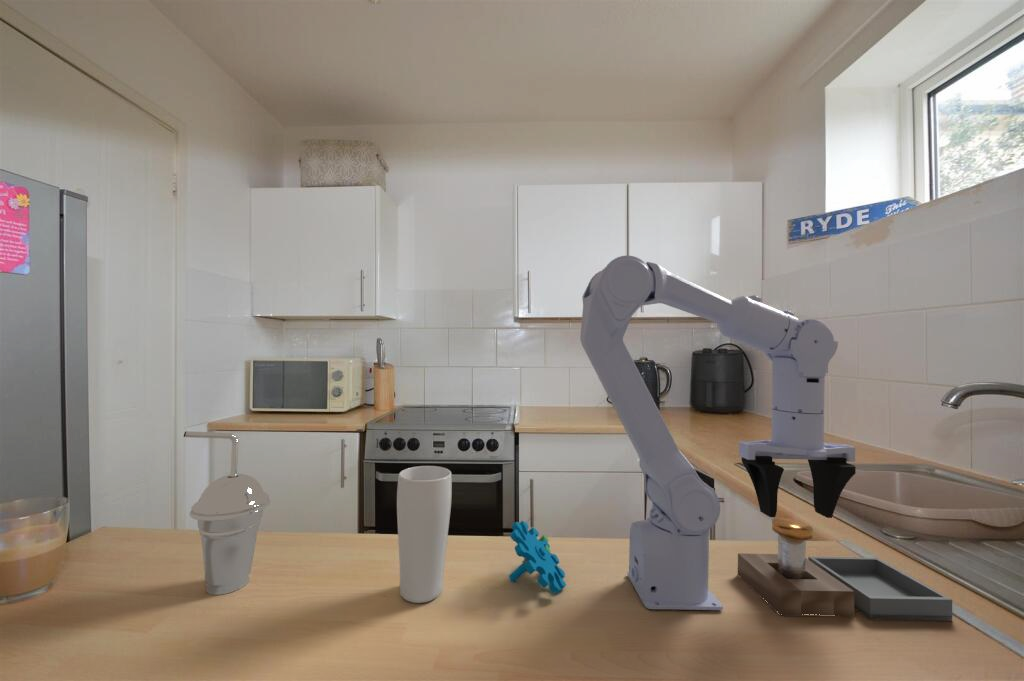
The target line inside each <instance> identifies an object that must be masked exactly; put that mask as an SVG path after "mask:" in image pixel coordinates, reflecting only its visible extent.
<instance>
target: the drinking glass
mask: <svg viewBox="0 0 1024 681" xmlns="http://www.w3.org/2000/svg"><path fill="white" fill-rule="evenodd" d="M452 478H453V477H452V471H451V470H450V469H448V468H446V467H443V466H438V465H437V466H436V465H420V466H419V465H418V466H412V467H408V468H405V469H403V470H401V471H400V472H399V473H398V478H397V488H396V489H397V490H396V517H397V518H396V519H397V520H396V521H397V540H398V557H399V561H398V563H399V593H400V596H401V597H402V599H404V600H405V601H407V602H410V603H412V604H423V603H427V602H431V601H434V600H435V599H436V598H437V597H439V596H440V594H441V593H442V592H443V588H444V572H445V562H446V554H447V544H448V537H449V528H450V518H451V512H452V511H451V508H452V498H453V497H452V495H453V494H452V490H453V487H452V486H453V481H452Z"/></svg>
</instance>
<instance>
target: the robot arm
mask: <svg viewBox="0 0 1024 681" xmlns="http://www.w3.org/2000/svg"><path fill="white" fill-rule="evenodd" d="M762 300H763V298H762V297H760V296H757V295H756V294H753V295H749V296H743V295H742V296H738V297H736V298H734V299H731V300H730V299H728V298H725V297H724V296H721V295H719V294H718V293H715V292H713V291H710V290H708V289H706V288H705V287H702V286H700V285H698V284H695V283H694V282H691V281H689V280H688V279H686V278H684V277H681V276H678V275H676V274H675V273H673V272H671V271H669V270H667V269H666V268H664V267H663V266H661V265H659V264H658V263H656V262H655V263H654V262H651V261H646V262H645V261H644V260H642V259H641V258H639V257H637V256H633V255H621V256H617V257H615V258H614V259H612V260H610V262H608V263H607V265H606V266H605V267H604V268H602V269H601V270H600V271H598V272H597V273H595V274H594V275H593V276H592V277H591V279H590V281H589V282H588V284H587V286H586V287H585V290H584V292H583V293H582V314H581V327H580V343H581V346H582V348H583V350H584V352H585V354H586V355H587V358H588V359H589V361H590V364H591V366H592V367H593V370H594V371H595V373H596V375H597V377H598V379H599V381H600V383H601V385H602V387H603V389H604V392H605V393H606V395H607V397H608V399H609V401H610V403H611V405H612V408H614V410H615V413H616V414H617V416H618V418H619V420H620V423H621V425H622V426H623V429H624V431H625V432H626V434H627V437H628V438H629V440H630V443H631V444H632V445H633V448H634V449H635V452H636V454H637V456H638V457H639V458H638V459H639V462H638V463H639V467H640V469H641V472H642V474H643V478H644V479H643V480H644V482H643V484H644V485H643V487H644V491H645V494H646V496H647V498H648V499H649V501H651V502H652V503H651V508H650V511H649V517H648V518H646V519H644V520H638V521H632V523H631V525H630V529H629V550H628V551H629V553H628V554H629V558H628V562H629V563H628V570H627V572H626V573H627V574H626V575H627V576H628V579H629V580H630V582H631V584H632V586H633V587H634V590H635V591H636V593H637V595H638V597H639V599H640V600H641V602H642V604H643V605H644V607H645V608H646V609H648V610H680V611H681V610H682V611H683V610H684V611H685V610H687V611H688V610H690V611H691V610H692V611H693V610H694V611H695V610H697V611H700V610H701V611H722V610H723V609H724V607H723V604H722V602H721V601H719V600H718V598H717V597H716V596H715V595H714V593H713V592H712V591H711V590H710V589H709V569H710V568H709V567H710V566H709V562H710V561H709V560H710V557H709V556H710V549H709V548H710V530H711V529H712V528H713V527H714V526H715V524H717V521H718V519H720V518H719V517H720V515H721V514H720V513H721V503H720V499H719V497H718V494H717V492H715V490H714V489H713V488H712V486H709V485H708V484H707V483H705V482H704V481H703V479H701V477H700V476H699V473H697V471H696V469H695V467H694V466H693V465H692V464H691V462H690V461H689V460H688V458H686V456H685V455H684V454H683V453H682V452H681V449H679V447H678V446H677V443H676V441H675V439H674V437H673V436H672V434H671V432H670V429H669V428H668V425H667V424H666V421H665V419H664V418H663V416H662V414H661V412H660V410H659V407H658V406H657V404H656V402H655V401H654V400H655V399H654V398H653V396H652V394H651V393H650V390H649V388H648V387H647V385H646V383H645V381H644V378H643V376H642V375H641V373H640V370H639V369H638V367H637V365H636V363H635V362H634V359H633V357H632V356H631V354H630V351H629V350H628V348H627V347H628V346H626V343H625V342H624V336H625V334H626V332H627V329H628V327H629V324H630V322H631V320H632V316H634V314H635V313H636V312H637V311H638V309H640V307H643V306H650V305H656V304H657V305H658V304H662V305H666V306H668V307H670V308H674V309H677V310H680V311H682V312H685V313H688V314H691V315H694V316H697V317H700V318H702V319H705V320H708V321H711V322H713V323H716V324H717V328H718V330H719V332H720V333H721V335H722V336H724V337H726V338H729V339H731V340H733V341H737V342H739V343H741V344H743V345H745V346H749V347H751V348H753V349H756V350H758V351H760V352H763V353H764V355H765V357H767V359H769V360H770V361H771V362H772V365H771V366H772V369H771V370H772V372H771V373H772V374H771V381H772V382H771V422H770V423H771V424H770V425H771V426H770V427H771V428H770V429H771V433H770V435H771V436H770V437H771V438H770V439H766V440H765V439H763V440H753V441H738V442H739V443H738V457H741V462H742V465H743V466H744V468H745V470H746V471H747V474H748V476H749V478H750V480H751V482H752V485H753V488H754V491H755V494H756V498H757V502H758V507H759V510H760V512H761V513H762V514H764V515H766V516H767V517H769V518H776V516H777V512H778V493H779V486H780V483H781V479H782V477H783V476H782V475H783V473H784V471H785V468H784V467H782V466H779V465H778V464H776V462H775V461H773V460H807V461H808V465H809V469H810V470H809V471H810V473H811V477H812V478H811V479H812V485H813V486H812V487H813V507H814V512H815V513H817V514H818V515H820V516H823V517H825V518H828V519H832V517H833V516H834V512H835V510H836V507H837V504H838V501H839V499H840V496H841V494H842V492H843V490H844V488H845V487H846V485H847V484H848V483H849V481H850V479H852V478H853V477H854V476H855V475H856V471H857V470H856V465H855V464H852V462H854V463H855V462H856V447H855V446H852V445H849V444H844V443H834V442H830V443H829V442H824V440H825V435H824V434H825V380H826V379H825V377H826V375H827V374H828V373H829V363H830V361H831V360H832V358H833V357H834V356H835V355H836V353H837V351H838V350H837V349H838V348H839V347H838V346H839V342H838V341H837V340H835V339H834V335H833V333H832V331H831V329H829V327H827V325H826V324H824V323H823V322H821V321H819V320H817V319H816V320H815V319H801V320H799V318H797V317H796V316H795V315H796V314H795V313H794V312H793V311H791V310H784V311H783V310H779V309H777V308H774V307H772V306H769V305H767V304H765V303H762ZM847 462H850V463H847Z"/></svg>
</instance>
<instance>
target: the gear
mask: <svg viewBox="0 0 1024 681" xmlns="http://www.w3.org/2000/svg"><path fill="white" fill-rule="evenodd" d="M510 528H511V529H512V530H513V531H512V532H511V533H510V534H509V536H510V539H511V540H512V541H513V542H515V543H516V545H515V546H514V552H515V553H516V555H517V557H522V558H523V559H522V561H521V564H520V565H519V566H517V568H515V570H514V571H512V573H510V574H509V575H508V578H509V580H510V581H511V582H512V583H515V582H516V581H517V580H518V579H520V578H521V577H522V575H524V574H525V573H526V572H527V573H528V574H529V575H532V574H533V573H535V572H537V573H538V574H539V577H538V578H537V580H536V581H537V584H539V585H540V586H541V587H542V588H543V589H545V588H546V587H548V589H549V591H550V592H551V593H552V594H555V595H557V594H558V593H559V592H560V591H562V590H563V589H564V588H566V587H567V584H566V582H565V581H564V578H565V577H566V575H565V574H566V573H565V571H564V570H563V569H562V568H561V567H560V566H558V564H560V560H559V557H558V556H557V555H556V554H555V553H551V549H550V548H551V546H550V544H549V538H548V537H547V536H546V535H545V534H543V535H542V536H541V537H540V538H538V536H539V532H538V530H537V529H536V528H535V527H534V526H532V527H531V528H530V527H529V525H528V523H527V522H525V521H524V520H522V521H520V522H518V521H515V522H514V523H513V524H511V527H510ZM529 528H530V529H529Z"/></svg>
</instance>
